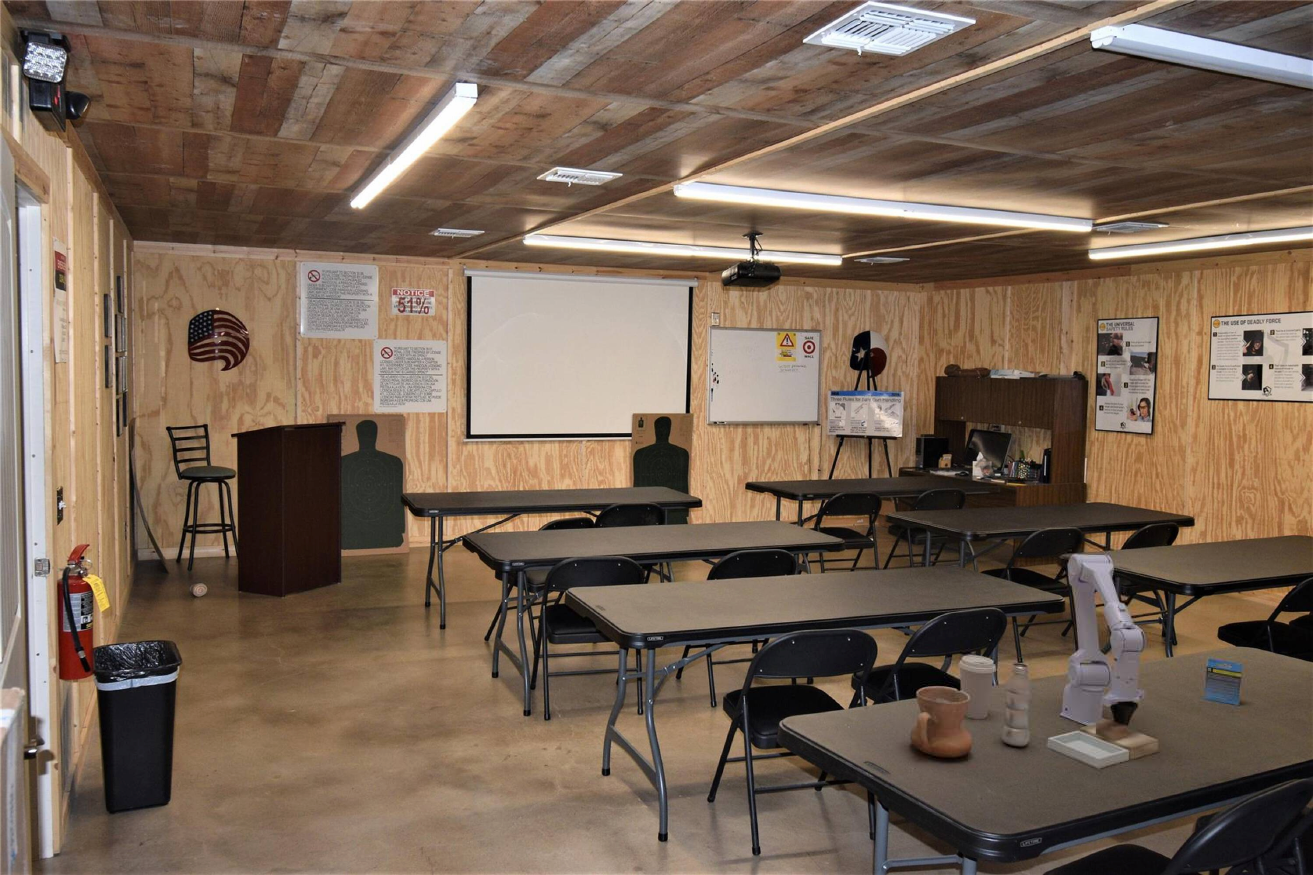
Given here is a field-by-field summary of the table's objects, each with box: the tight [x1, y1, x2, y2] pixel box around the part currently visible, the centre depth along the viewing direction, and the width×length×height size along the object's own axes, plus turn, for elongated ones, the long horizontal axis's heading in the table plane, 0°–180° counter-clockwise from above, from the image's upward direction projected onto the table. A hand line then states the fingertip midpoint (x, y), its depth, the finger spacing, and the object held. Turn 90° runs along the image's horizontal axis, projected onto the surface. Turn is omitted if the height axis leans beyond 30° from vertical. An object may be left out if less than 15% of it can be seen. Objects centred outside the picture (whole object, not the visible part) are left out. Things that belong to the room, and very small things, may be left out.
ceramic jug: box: [909, 685, 974, 759], centre depth 238 cm, size 18×14×14 cm
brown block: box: [1096, 718, 1128, 741], centre depth 245 cm, size 5×5×3 cm
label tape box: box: [1203, 657, 1243, 706], centre depth 283 cm, size 9×4×12 cm, turn 58°
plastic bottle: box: [1001, 662, 1033, 747], centre depth 244 cm, size 6×7×20 cm
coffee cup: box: [958, 654, 997, 720], centre depth 264 cm, size 10×10×15 cm
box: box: [1046, 730, 1129, 770], centre depth 240 cm, size 14×12×2 cm
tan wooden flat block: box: [1079, 724, 1160, 761], centre depth 246 cm, size 14×11×3 cm
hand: (1120, 729), depth 246 cm, fingers closed
